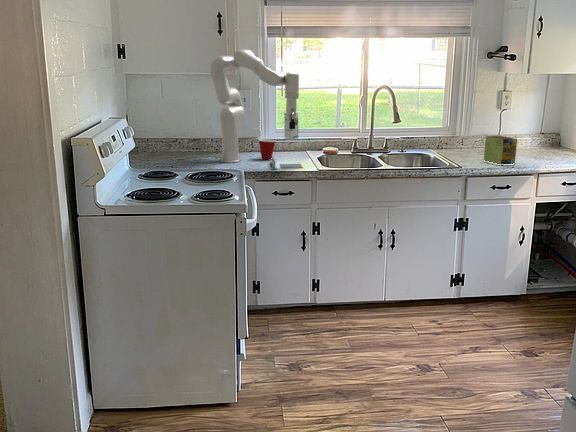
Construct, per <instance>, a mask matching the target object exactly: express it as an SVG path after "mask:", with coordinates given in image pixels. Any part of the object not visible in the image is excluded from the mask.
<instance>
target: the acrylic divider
mask: <svg viewBox="0 0 576 432" xmlns="http://www.w3.org/2000/svg"><path fill="white" fill-rule="evenodd" d="M269 165H272V166H271V170H272V171H278V167H276V159H275V157H274V155H273V154H272V159H271V161H269Z"/></svg>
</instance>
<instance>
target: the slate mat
mask: <svg viewBox="0 0 576 432" xmlns="http://www.w3.org/2000/svg"><path fill="white" fill-rule="evenodd" d="M279 166H280V169H304V167H303V166H302V164H301V163H279Z"/></svg>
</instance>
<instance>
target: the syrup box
mask: <svg viewBox="0 0 576 432" xmlns="http://www.w3.org/2000/svg"><path fill="white" fill-rule="evenodd" d="M283 116H284V117H283V118H284V119H283V120H284V122H283V123H284V139H285V140H286V139H287V140H296V139H299V112H298V111H296V117H295V129H289V122H290V116H292V114H291V115H290V116H288V117H287V113H286V112H284V115H283Z"/></svg>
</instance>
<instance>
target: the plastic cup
mask: <svg viewBox="0 0 576 432" xmlns="http://www.w3.org/2000/svg"><path fill="white" fill-rule="evenodd" d="M276 142H277V140H275V139H272V138H258V145H259V149H260V156H261V159H262V160H263V159H271V158H272V155H273V153H274V149H275V145H276ZM271 160H272V159H271Z"/></svg>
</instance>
